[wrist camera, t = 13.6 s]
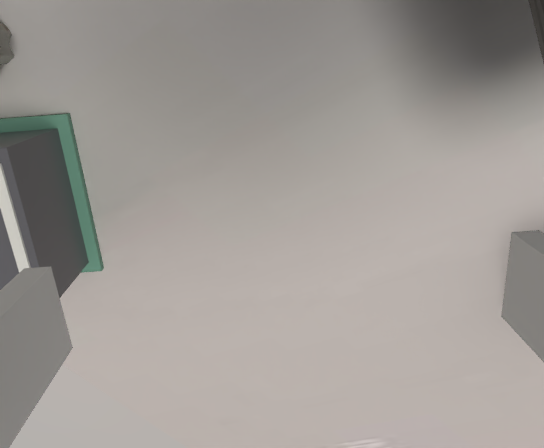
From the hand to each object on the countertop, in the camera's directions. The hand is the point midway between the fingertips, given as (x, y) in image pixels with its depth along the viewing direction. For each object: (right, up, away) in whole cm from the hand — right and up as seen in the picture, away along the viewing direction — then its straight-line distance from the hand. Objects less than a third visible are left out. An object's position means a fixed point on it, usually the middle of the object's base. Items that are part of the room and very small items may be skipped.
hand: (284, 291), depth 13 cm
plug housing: (-20, +4, +26) cm, 33 cm away
